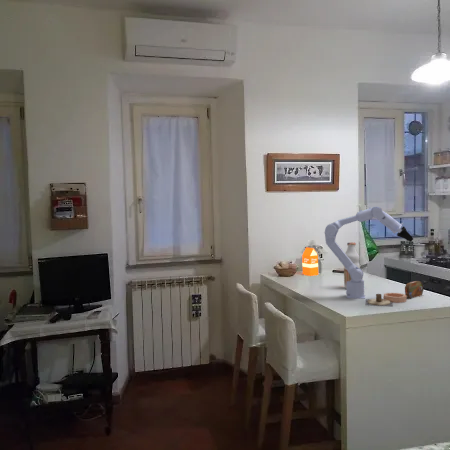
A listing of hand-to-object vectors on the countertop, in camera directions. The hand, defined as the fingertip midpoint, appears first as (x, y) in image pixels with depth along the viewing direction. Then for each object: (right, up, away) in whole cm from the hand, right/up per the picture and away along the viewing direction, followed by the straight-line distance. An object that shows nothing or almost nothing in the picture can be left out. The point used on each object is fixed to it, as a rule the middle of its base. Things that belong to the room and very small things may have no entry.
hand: (411, 239), depth 212 cm
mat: (-19, -33, -4) cm, 38 cm away
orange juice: (-34, -29, +88) cm, 99 cm away
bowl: (-8, -32, +1) cm, 33 cm away
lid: (-19, -32, -4) cm, 38 cm away
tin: (+5, -32, +8) cm, 33 cm away
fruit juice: (-20, -31, +35) cm, 51 cm away
